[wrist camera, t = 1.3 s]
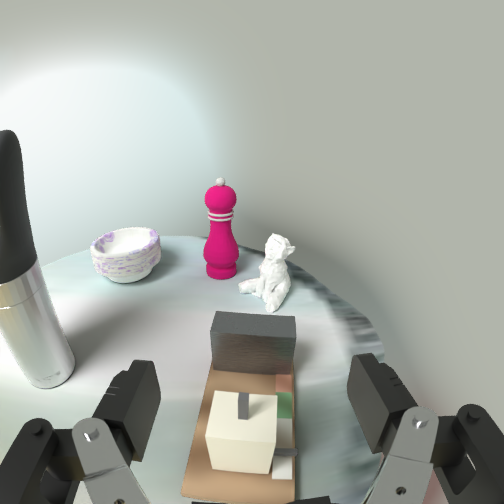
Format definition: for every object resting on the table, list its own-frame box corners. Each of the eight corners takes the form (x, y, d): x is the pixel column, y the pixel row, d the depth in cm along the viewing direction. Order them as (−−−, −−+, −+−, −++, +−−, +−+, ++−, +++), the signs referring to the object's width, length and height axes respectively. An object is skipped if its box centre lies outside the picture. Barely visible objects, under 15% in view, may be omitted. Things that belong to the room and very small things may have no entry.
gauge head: (296, 474, 23) (318, 425, 18) (212, 468, 23) (201, 418, 18) (296, 436, 27) (314, 375, 23) (219, 430, 28) (212, 369, 23)
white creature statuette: (235, 291, 56) (236, 232, 51) (267, 276, 61) (271, 221, 56) (271, 315, 50) (276, 251, 44) (303, 296, 55) (311, 237, 50)
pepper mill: (234, 283, 59) (235, 182, 50) (199, 278, 59) (195, 180, 51) (241, 265, 65) (243, 174, 56) (209, 262, 66) (207, 173, 57)
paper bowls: (104, 258, 65) (99, 228, 62) (164, 254, 69) (161, 223, 65) (90, 293, 52) (80, 258, 49) (161, 289, 55) (156, 252, 52)
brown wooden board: (292, 506, 20) (294, 503, 20) (182, 496, 21) (180, 492, 20) (291, 360, 40) (292, 353, 40) (215, 354, 41) (214, 348, 40)
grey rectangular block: (289, 375, 36) (296, 337, 33) (213, 370, 37) (210, 331, 34) (289, 354, 40) (294, 316, 37) (218, 349, 40) (216, 311, 37)
